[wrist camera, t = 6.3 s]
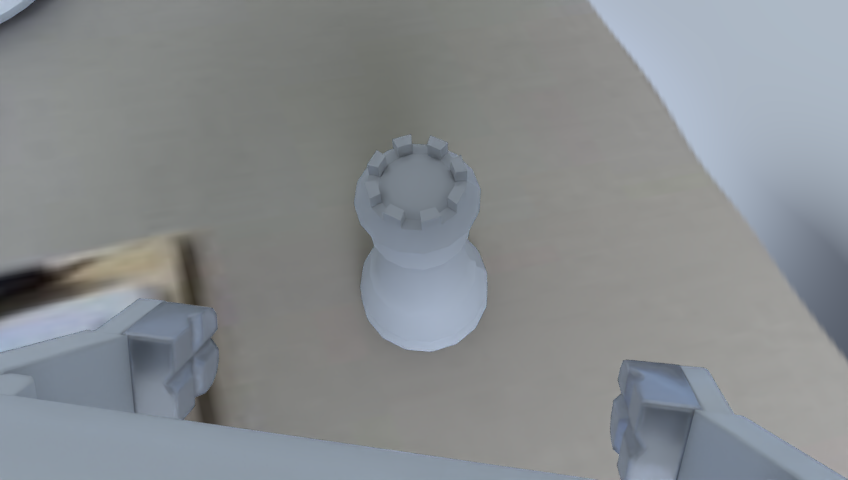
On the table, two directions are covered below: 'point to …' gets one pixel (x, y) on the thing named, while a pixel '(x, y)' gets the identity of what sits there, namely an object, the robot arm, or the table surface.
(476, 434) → the table surface
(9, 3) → the flower in vase
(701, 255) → the table surface
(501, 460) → the table surface
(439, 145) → the rook chess piece
